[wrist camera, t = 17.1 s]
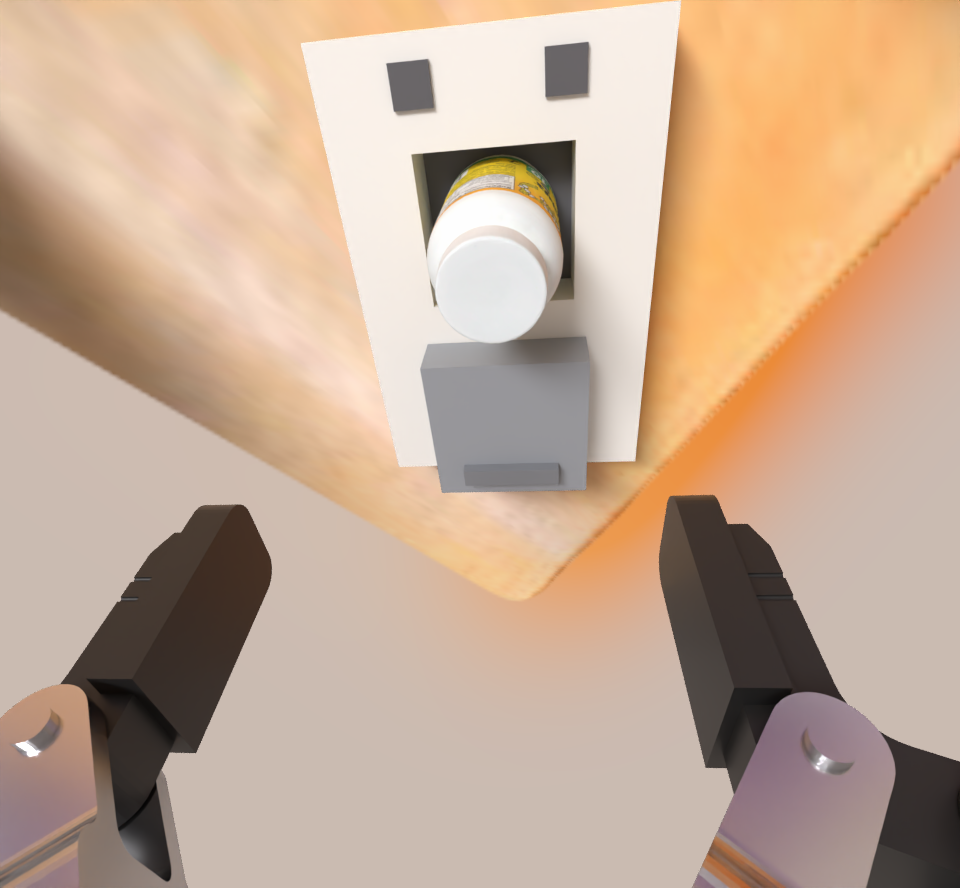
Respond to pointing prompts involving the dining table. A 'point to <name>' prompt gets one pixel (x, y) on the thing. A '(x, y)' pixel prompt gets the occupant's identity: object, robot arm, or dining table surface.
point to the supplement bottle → (496, 250)
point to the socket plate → (516, 132)
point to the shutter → (509, 414)
